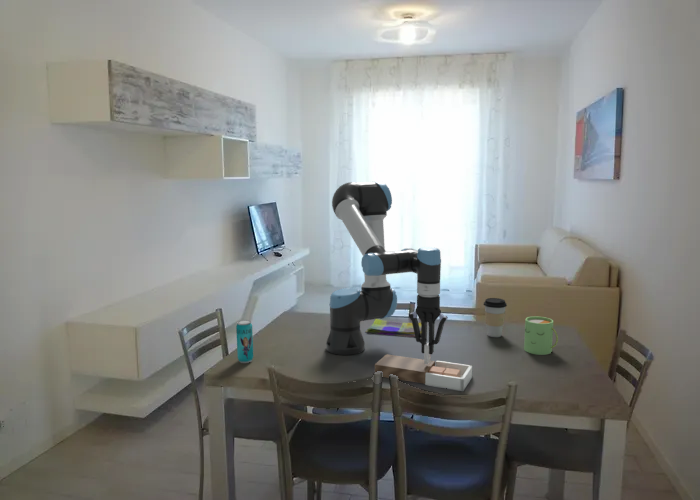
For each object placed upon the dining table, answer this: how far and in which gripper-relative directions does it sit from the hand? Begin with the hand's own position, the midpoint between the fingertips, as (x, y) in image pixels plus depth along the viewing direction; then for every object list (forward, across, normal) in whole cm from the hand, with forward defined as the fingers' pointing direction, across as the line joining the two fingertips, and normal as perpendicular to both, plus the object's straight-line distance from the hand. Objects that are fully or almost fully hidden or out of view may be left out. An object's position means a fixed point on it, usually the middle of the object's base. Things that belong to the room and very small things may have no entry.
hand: (427, 362), depth 186 cm
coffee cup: (+6, +13, +55) cm, 57 cm away
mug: (+5, +33, +42) cm, 53 cm away
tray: (+5, +8, 0) cm, 9 cm away
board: (+5, -8, 0) cm, 9 cm away
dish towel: (+6, -28, +47) cm, 55 cm away
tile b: (+2, +8, 0) cm, 9 cm away
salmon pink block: (+5, +4, 0) cm, 6 cm away
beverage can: (+6, -66, -11) cm, 67 cm away
